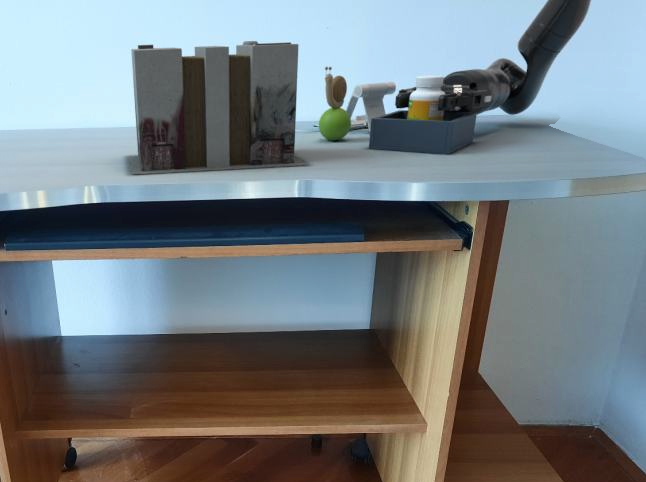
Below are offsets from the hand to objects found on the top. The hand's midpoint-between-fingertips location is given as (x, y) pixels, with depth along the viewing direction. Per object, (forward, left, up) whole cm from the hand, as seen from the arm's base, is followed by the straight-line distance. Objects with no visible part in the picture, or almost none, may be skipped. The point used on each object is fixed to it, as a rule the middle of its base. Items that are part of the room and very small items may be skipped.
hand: (419, 102), depth 99 cm
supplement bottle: (0, -2, -6) cm, 7 cm away
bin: (0, -2, -7) cm, 7 cm away
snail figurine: (+15, -1, -7) cm, 16 cm away
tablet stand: (+15, -15, -7) cm, 22 cm away
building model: (+23, +24, -7) cm, 34 cm away
